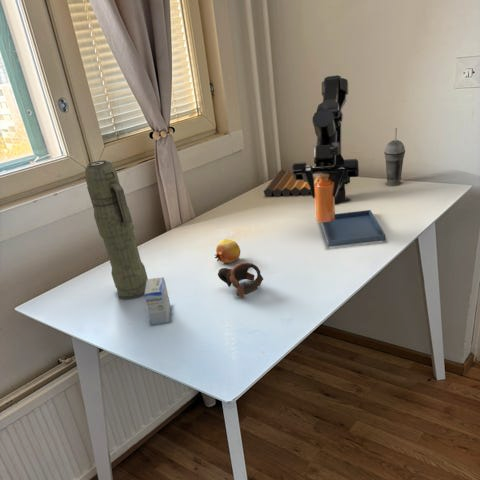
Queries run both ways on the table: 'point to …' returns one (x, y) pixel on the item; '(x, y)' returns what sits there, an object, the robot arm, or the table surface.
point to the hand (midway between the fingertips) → (323, 197)
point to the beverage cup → (394, 161)
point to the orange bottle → (324, 199)
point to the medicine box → (157, 300)
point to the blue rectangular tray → (352, 228)
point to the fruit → (227, 251)
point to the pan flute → (287, 185)
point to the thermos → (116, 228)
